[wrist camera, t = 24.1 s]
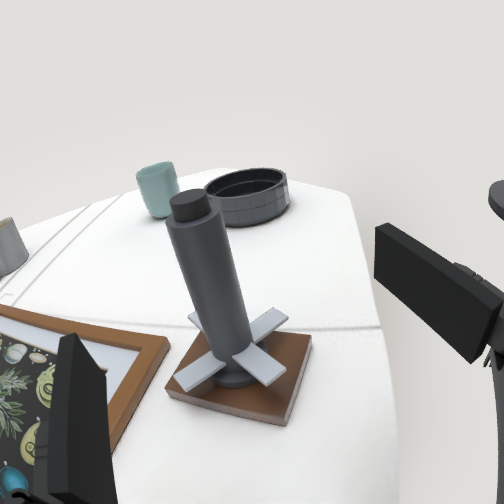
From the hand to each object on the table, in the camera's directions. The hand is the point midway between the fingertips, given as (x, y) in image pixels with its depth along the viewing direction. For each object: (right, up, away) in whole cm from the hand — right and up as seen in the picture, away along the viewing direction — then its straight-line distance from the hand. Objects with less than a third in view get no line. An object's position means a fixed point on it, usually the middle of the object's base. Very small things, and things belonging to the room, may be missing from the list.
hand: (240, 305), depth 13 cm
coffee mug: (-56, -2, +46) cm, 73 cm away
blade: (-1, -8, +15) cm, 17 cm away
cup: (-17, +10, +52) cm, 56 cm away
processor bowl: (0, +10, +46) cm, 47 cm away
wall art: (-30, -17, +13) cm, 37 cm away
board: (0, -9, +16) cm, 18 cm away
